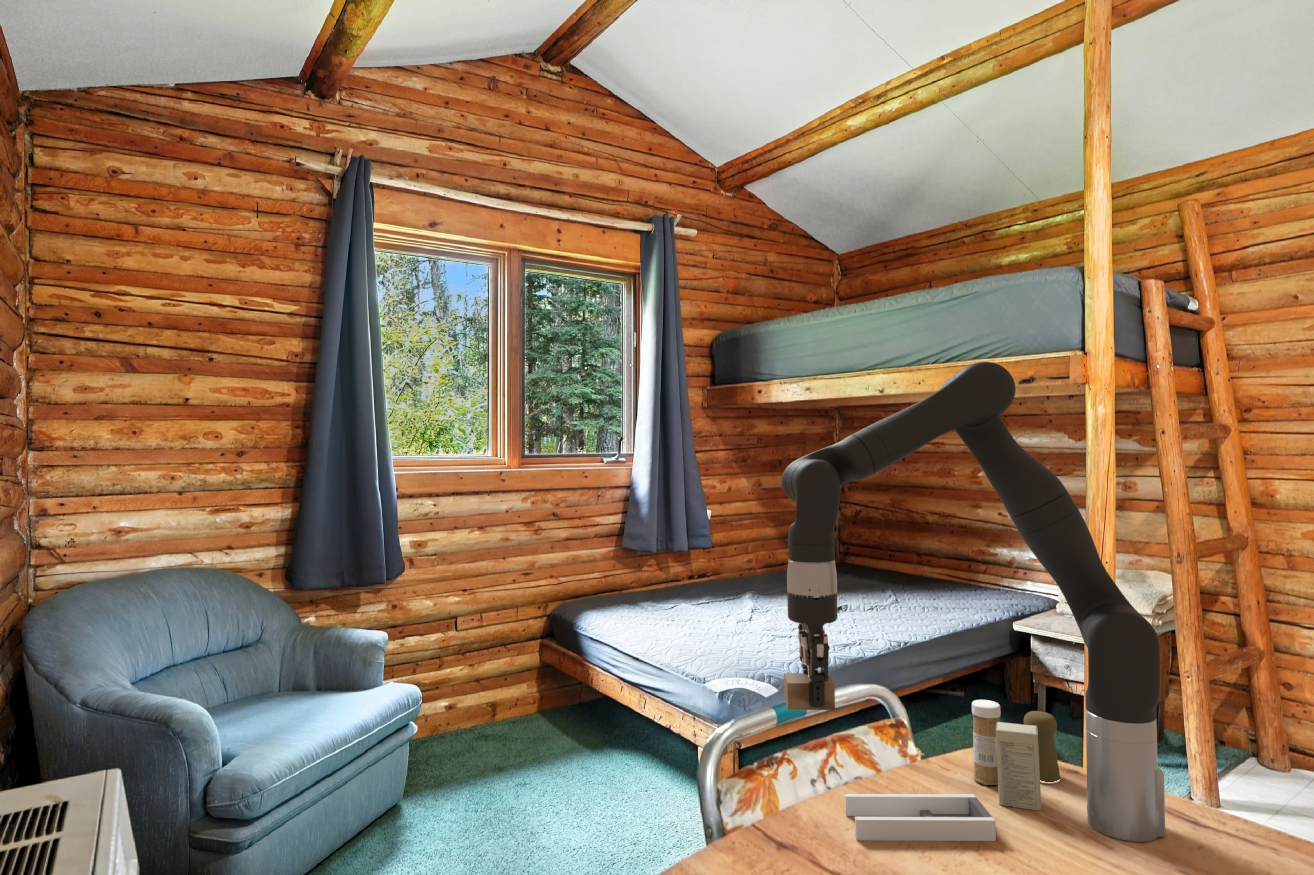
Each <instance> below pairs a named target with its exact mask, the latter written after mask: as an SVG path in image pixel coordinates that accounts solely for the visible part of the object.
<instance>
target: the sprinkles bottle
mask: <svg viewBox="0 0 1314 875" xmlns="http://www.w3.org/2000/svg"><path fill="white" fill-rule="evenodd" d="M971 713H972V719H973V720H972V722H973V726H972V729H973V730H972V744H973V745H972V750H973V768H974V769H973V773H974V774H973V780H974V781H975V782H976V781H977V782H976V783H978V784H980V783H981V784H980V785H983V784H984V785H983V786H987V785H997V786H998V768H997V746H996V724H997V722H1000V719H1001V713H1002V712H1001V705H1000V704H999V702H996V701H993V700H988V699H975V700H973V701H972V702H971Z"/></svg>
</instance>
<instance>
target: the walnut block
mask: <svg viewBox="0 0 1314 875" xmlns="http://www.w3.org/2000/svg"><path fill="white" fill-rule="evenodd" d="M828 677H829V678H828V681H826V682H824V691H825V705H824V706H823V707H812V706H810V704H809V679H808V673H805V674H804V673H803V672H802V673H801V672H800V673H799V672H798V673H796V672H795V673H793V672H792V673H788V672H787V673H786V672H785V673H783V681H784V683H783V684H784V687H783V688H784V691H783V692H784V701H785V705H786V708H787V710H788V711H835V710H836V695H835V693H836V689H835V686H836V685H835V682H834V680H833V677H832V676H831V674H830V673H829V672H828Z"/></svg>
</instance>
